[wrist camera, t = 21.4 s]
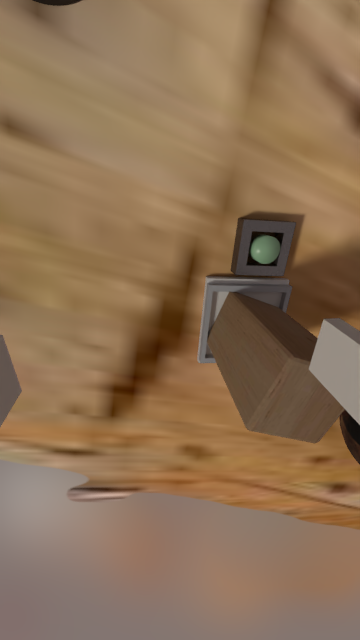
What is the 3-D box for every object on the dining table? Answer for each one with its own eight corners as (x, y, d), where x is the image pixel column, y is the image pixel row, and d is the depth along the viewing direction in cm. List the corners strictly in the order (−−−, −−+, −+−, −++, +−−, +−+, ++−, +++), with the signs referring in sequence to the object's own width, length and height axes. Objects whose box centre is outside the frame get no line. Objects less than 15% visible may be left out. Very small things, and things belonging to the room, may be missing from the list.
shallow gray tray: (206, 276, 42) (209, 280, 40) (286, 278, 44) (293, 282, 42) (197, 359, 48) (199, 366, 46) (266, 357, 51) (272, 364, 48)
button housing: (238, 218, 39) (243, 219, 36) (287, 221, 40) (296, 222, 38) (230, 270, 42) (235, 274, 40) (276, 272, 43) (283, 276, 41)
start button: (250, 233, 39) (256, 235, 37) (275, 234, 40) (282, 236, 37) (246, 260, 41) (252, 263, 38) (269, 260, 41) (276, 264, 39)
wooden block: (279, 306, 45) (371, 379, 27) (252, 353, 48) (318, 445, 30) (229, 288, 42) (294, 356, 24) (204, 340, 45) (245, 432, 28)
